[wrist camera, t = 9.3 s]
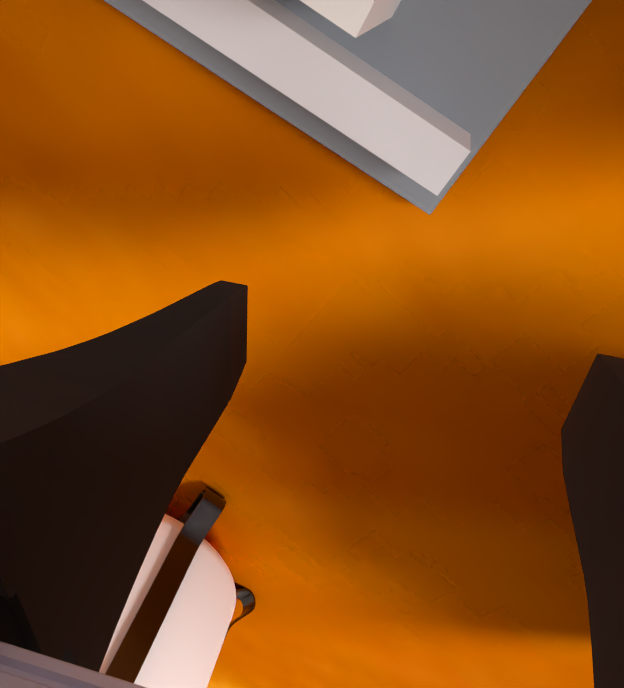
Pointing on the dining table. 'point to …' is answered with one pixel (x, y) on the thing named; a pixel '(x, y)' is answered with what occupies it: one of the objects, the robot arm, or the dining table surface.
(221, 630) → the coffee press
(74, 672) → the robot arm
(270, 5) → the rail plate
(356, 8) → the block
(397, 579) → the dining table surface
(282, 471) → the dining table surface
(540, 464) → the dining table surface
